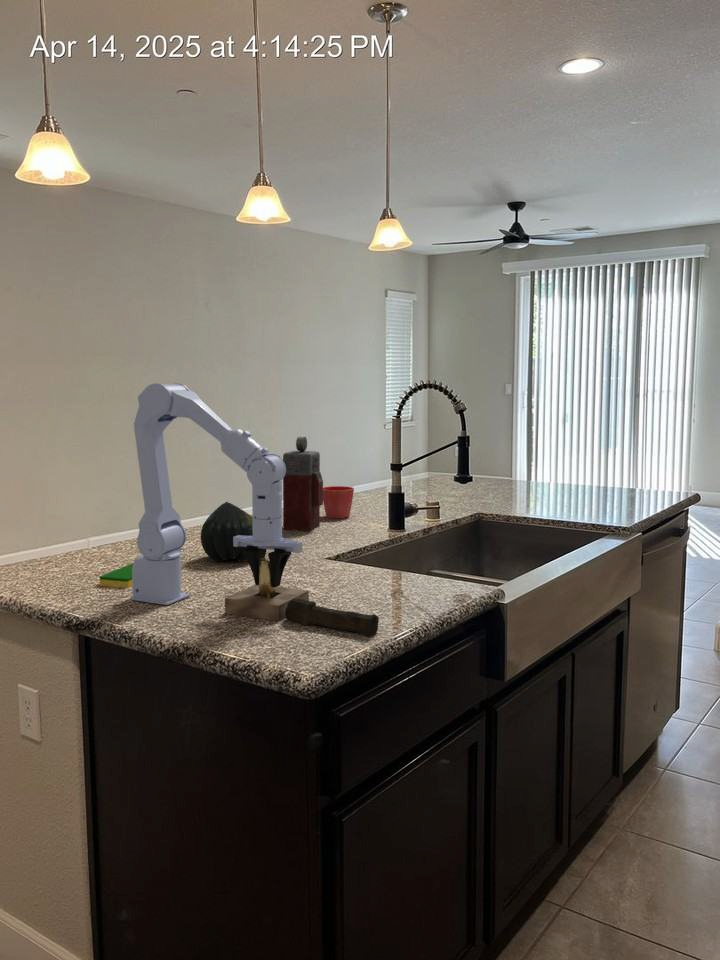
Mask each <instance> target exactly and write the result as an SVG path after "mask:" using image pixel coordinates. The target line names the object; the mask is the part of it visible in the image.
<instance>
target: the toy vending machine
mask: <svg viewBox="0 0 720 960" xmlns="http://www.w3.org/2000/svg"><path fill="white" fill-rule="evenodd" d="M295 447H296V450H290V451H288V452H285V453H283V455H282V460H283V461H284V463H285V465H286V474H285V476H284V478H283V479H282V530H283V529H284V530H285V531H296V530H298V531H300V532H303V531H304V532H312V531H314V530H315V528H316V529H317V527H318V528H319V527H320V521H321V520H320V517H321V515H320V508H321V506H324V503H323V488H324V479H323V476H322V474H321V471H320V467H321V466H320V465H321V463H320V462H321V460H320V459H321V455H320V452H319V451H314V450H311V451H310V450H307V447H308V439H307V437H306V436H297V437H296V440H295ZM284 530H283V531H284Z"/></svg>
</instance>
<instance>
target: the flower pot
mask: <svg viewBox="0 0 720 960" xmlns="http://www.w3.org/2000/svg"><path fill="white" fill-rule="evenodd" d="M354 491H355V488H354V487H351V486H345V485H344V486H342V485H340V486H339V485H337V486H336V485H335V486H334V485H333V486H323V508H324V512H325V516H326V518H328V517H329V518H328V519H346V518H345V517H348V518H349V517H350V514H351V511H352V510H351V509H352V504H353V499H354V493H355V492H354Z"/></svg>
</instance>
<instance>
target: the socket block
mask: <svg viewBox="0 0 720 960" xmlns="http://www.w3.org/2000/svg"><path fill="white" fill-rule="evenodd" d="M309 595H310V591H309V589H308V590H306V589H298V588H291V587H284V586H277V587H275V597H273V598H267V597H259V585H255V584H254V585H252V586H249V587H247V588H245V589H242V590H241V591H238V592H235V593H234V594H231V595H229V596H226V597H225V598H224V613H225V614H228V615H236V616H242V617H248V618H254V619H255V618H256V619H261V620H267V621H275V622H281V621H282V620H285V619H286V614H285V611H286V607H287V605H288V603H289V601H291V600H292V599H303V600H306V601H310V599H309V597H310V596H309Z"/></svg>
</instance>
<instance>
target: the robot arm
mask: <svg viewBox="0 0 720 960" xmlns="http://www.w3.org/2000/svg"><path fill="white" fill-rule="evenodd" d="M137 400H138V408H137V411H136V415H135V418H134V422H133V428H134V429H133V431H134V437H135V445H136V451H137V459H138V466H139V474H140V480H141V481H140V483H141V490H142V496H143V497H142V498H143V504H144V505H143V506H144V513H143V515H142V517H141V518H140V520H139V521H138V528H139V529H138V530H139V532H138V535H137V538H136V546H137V549H138V551H139V553H140V555H138V556H137V557H136V558H135V559H134V561H133V567H132V586H131V587H132V596H130V597H129V600H131V601H137V602H143V603H144V602H145V603H151V604H157V605H163V606H164V605H165V606H169V605H171V604H173V603H177V602H178V601H180V600H181V601H182V600H184V599H186V598H188V597H190V596H191V593H188V592H182V570H181V569H182V568H181V567H182V566H181V565H182V563H181V562H182V561H181V560H182V558H181V555H182V547H184V545H185V544H186V542H187V532H186V529H185V527H184V526H183V524H182V521H181V517H180V514H179V513H178V512H177V511H176V510H175V508H174V507H173V502H172V494H171V486H170V479H169V478H170V477H169V471H168V462H167V456H166V455H167V454H166V446H165V440H164V438H165V437H164V431H165V429H167V427H168V426H169V425H170V424H171V423H172V422H173V421H174V420H175V419H176V418H185V419H186V418H187V419H190V420H191V421H192V422H194V423H195V425H196V424H197V425H198V426H199V427H200V428H202V429H203V430H204V431H206V433H208V434H209V435H211V436H212V437H213V438H215V439H216V440H217V441H218V442H220V448H221V449H220V450H221V452H222V453H224V455H225V456H226V457H228V458H229V459H230V460H231V461H232V462H234V463H235V464H236V465H237V466H238V467H240V468H241V469H242V470H243V471H244V472H245V473H246V477H247V479H248V481H249V483H250V484H251V486H252V488H251V489H252V490H251V491H252V493H251V494H252V497H251V498H252V499H251V500H252V506H251V507H252V517H253V536H242V535H238V536H235V537H233V546H235V547H239V546H243V547H247V549H246V550H245V551H243V554H244V556H245V558H246V559H247V560H246V561H247V564H248V565H249V567H250V570H251V573H252V577H253V580H254V585H259V559H261V558H266V555H267V556H268V557H267V558H269V560H270V566H271V583H272V587H281V583H282V579H283V578H282V577H283V573H284V570H285V567H286V565H287V563H288V561H289V559H290V557H291V555H292V553H293V554H300V553H301V552H303V541H299V540H294V539H289V538H285V537H283V478H284V476H285V474H286V465H285V463H284V461H283V458H282V457H281V456H280V455H279V454H276V453H270V449H269V448H267V447H262V446H261V445H260V444H259V443H258V442H257V441H255V440H254V439H253V438H252V437H251V436H252V433H251V432H250V431H249V430H242V429H241V428H240V429H239V428H236V429H235V428H234V429H232V428H231V427H230V426H229V425H228V424H227V423H226V422H225V421H224V420H223V419H221V418H220V417H219V416H218V414H216V413H215V412H214V411H213V410H212V409H211V408H210V407H209V406H208V405H207V404H206V403H204V401H203V400H202V399H200V397H199V395H198V394H197V393H196V392H194V391H193V390H190V388H188V387H187V386H186V385H185V384H183V383H178V382H177V383H155V382H154V383H151V384H149V385H147V386H146V387H145V388H144V389H143V390H142V391H141V393H139V395H138V396H137ZM267 550H272V551H271V552H268V553H267Z"/></svg>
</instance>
